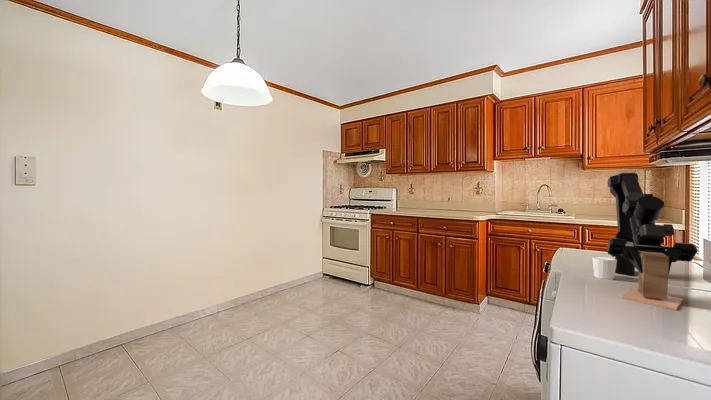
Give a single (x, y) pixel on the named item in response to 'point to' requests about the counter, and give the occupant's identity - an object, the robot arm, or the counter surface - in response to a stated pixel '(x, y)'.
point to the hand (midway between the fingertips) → (654, 273)
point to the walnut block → (653, 275)
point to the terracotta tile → (653, 299)
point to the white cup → (604, 267)
